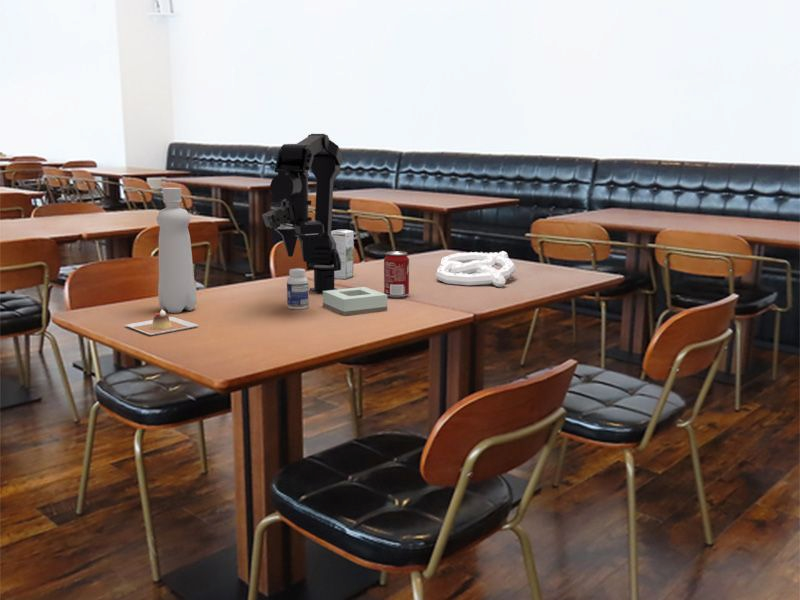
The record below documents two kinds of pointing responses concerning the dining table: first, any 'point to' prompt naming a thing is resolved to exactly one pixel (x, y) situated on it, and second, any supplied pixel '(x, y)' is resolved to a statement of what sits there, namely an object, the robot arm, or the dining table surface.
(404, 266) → the soda can
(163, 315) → the dessert
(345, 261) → the syrup box
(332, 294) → the bore block
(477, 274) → the white coiled rope knot
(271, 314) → the dining table surface
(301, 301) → the pill bottle
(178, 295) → the bottle
